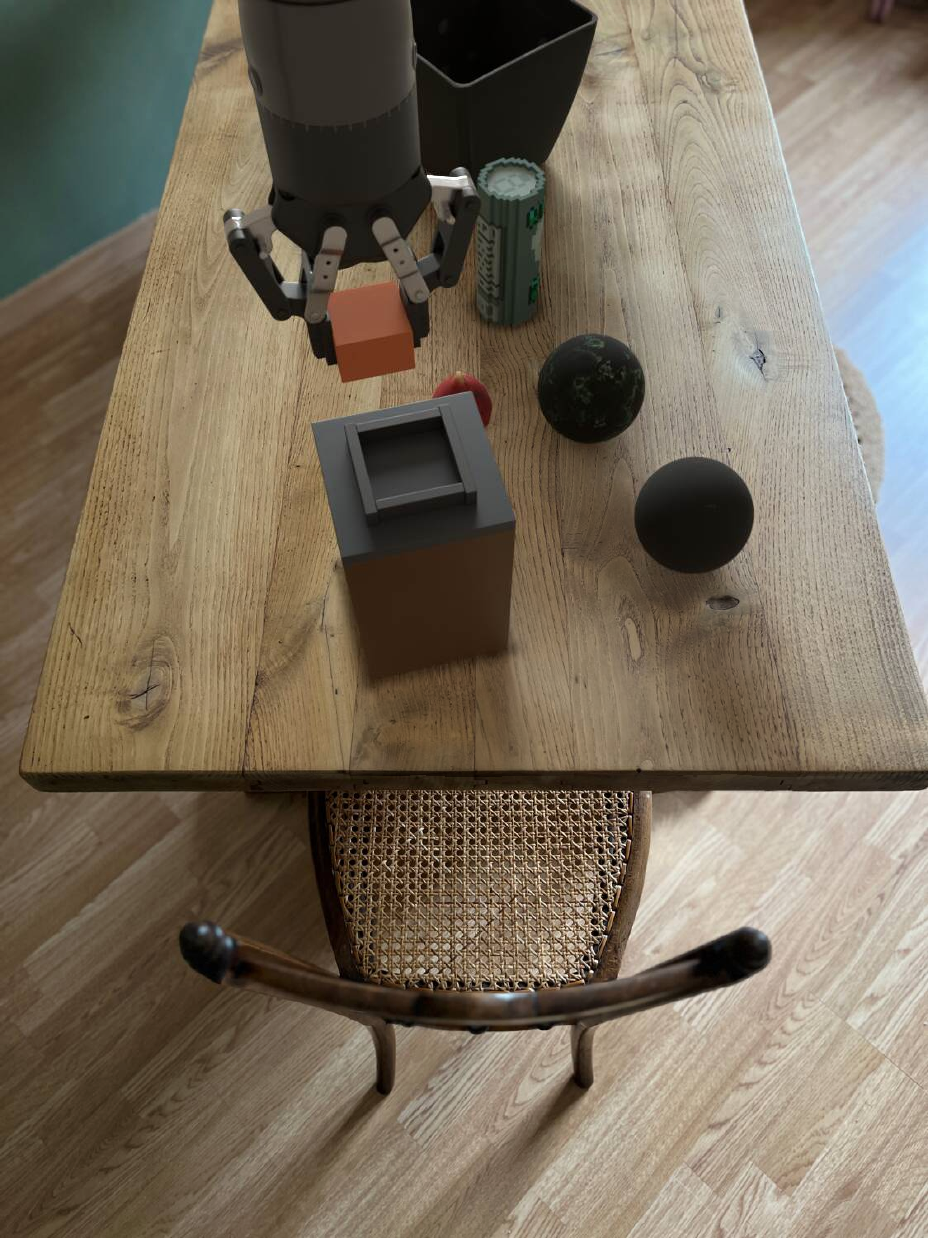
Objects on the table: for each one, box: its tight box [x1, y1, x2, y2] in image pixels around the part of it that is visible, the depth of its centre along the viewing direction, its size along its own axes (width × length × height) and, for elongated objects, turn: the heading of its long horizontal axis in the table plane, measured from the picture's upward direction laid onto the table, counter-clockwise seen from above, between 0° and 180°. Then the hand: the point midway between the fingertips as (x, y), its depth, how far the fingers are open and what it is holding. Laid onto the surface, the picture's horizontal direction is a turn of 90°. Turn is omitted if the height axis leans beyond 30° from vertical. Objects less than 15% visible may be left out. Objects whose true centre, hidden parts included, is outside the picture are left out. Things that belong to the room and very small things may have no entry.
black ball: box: [633, 456, 755, 575], centre depth 79 cm, size 10×10×10 cm
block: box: [327, 279, 417, 384], centre depth 56 cm, size 5×5×3 cm
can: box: [476, 157, 547, 327], centre depth 92 cm, size 6×6×15 cm
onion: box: [431, 370, 493, 429], centre depth 86 cm, size 6×6×8 cm
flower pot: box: [410, 0, 599, 190], centre depth 103 cm, size 19×19×17 cm
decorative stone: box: [536, 332, 646, 445], centre depth 86 cm, size 10×10×10 cm
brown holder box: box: [310, 391, 517, 682], centre depth 72 cm, size 12×12×20 cm
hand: (370, 346), depth 57 cm, fingers closed on block, 4 cm apart
